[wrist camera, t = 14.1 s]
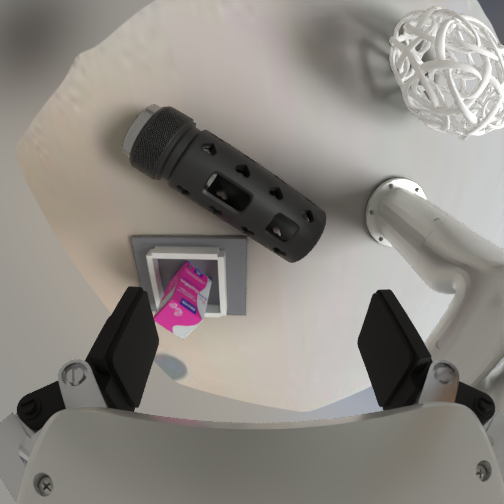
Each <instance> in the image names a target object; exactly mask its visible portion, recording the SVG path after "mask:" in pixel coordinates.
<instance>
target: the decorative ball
mask: <svg viewBox="0 0 504 504" xmlns="http://www.w3.org/2000/svg"><path fill="white" fill-rule="evenodd" d="M417 14H421V15H420V16H419V17H418V18H417V19H414V20H412V21H409V22H407V23H405V24H404V26H403V28H404V33H403V34H401V35H399V36H398V32H399V29H400V27H401V25H402V24H403V23H404V22H405V21H406V20H407V19H408V18H410V17H412V16H414V15H417ZM443 15H448V16H450V17H452V18H451V19H448V20H445V21H444V22H443V23H440V22H441V21H442V19H443ZM468 20H471V21H474V22H476V23H478V24H479V25H481V26H482V27H483V28H484V29H485V30H486V31H487V32H488V33H487V32H486V31H485V30H483V29H481V28H480V29H479V28H478V27H476V26H475V25H474V24H472V23H470V22H469V21H468ZM424 26H425V27H429V28H428V29H427V30H426V31H425V32H423V31H422V29H423V27H424ZM438 27H439V29H438V31H437V28H438ZM453 29H454V31H455V34H456V36H457V38H455V37H453V36H451V32H452V30H453ZM475 29H476V30H477V31H478V32H477V31H476V30H475ZM460 30H461V31H462V32H463V33H465V34H466V35H467V37H468V38H469V39H470V40H471V42H472V43H473V44H472V43H469V42H466V41H464V40H463V38H462V35H461V33H460ZM436 31H437V34H436ZM435 34H436V36H435ZM445 34H446V36H447V37H448V38H449V39H450V40H451V42H449V43H445ZM488 34H489V35H490V36H489V35H488ZM409 39H410V41H409ZM422 40H424V41H423V44H422V46H421V48H420V50H419V51H416V50H415V47H416V46H417V45H418V44H419V43H420V42H421V41H422ZM402 41H405V43H406V45H407V46H406V45H405V44H404V43H400V42H402ZM480 41H481V42H482V43H483V44H484V45H485V46H486V47H487V49H484V48H483V47H482V45H481V44H480ZM389 42H390V44H391V47H390V53H389V61H390V66H391V69H392V71H393V73H394V75H395V78H396V82H397V84H399V86H400V88H401V91H402V97H403V100H404V102H405V105H406V106H407V108H408V110H409V111H410V112H411V113H412V114H413V115H414V116H416V117H417V118H418V119H419V120H421V121H422V122H423V123H424V124H425V125H427V126H428V127H430V128H432V129H434V130H436V131H439V132H442V133H446V134H458V137H459V139H461V140H466V139H467V138H468V137H469V136H470V135H474V136H480V135H483V134H485V133H488V132H490V131H492V130H494V129H501V128H503V127H504V121H503V122H502V123H501V124H500V122H501V121H502V117H503V116H504V62H503V59H502V56H503V57H504V46H503V45H502V44H500V43H498V42H497V40H496V38H495V36H494V35H493V33H492V32H491V31H490V29H489V28H488V27H486V26H485V25H484V24H483V23H482V22H480V21H479V20H478V19H476V18H474V17H472V16H470V15H467V14H463V13H462V14H457V13H456V12H454V11H450V10H447V9H441V8H440V7H438V6H435V7H431V8H428V9H427V10H426V11H420V10H418V11H414V12H411V13H409V14H407V15H406V16H404V17H403V18H402V19H401V20H400V21H399V22H398V23H397V25H396V27H395V29H394V33H393V37H390V38H389ZM432 43H433V44H435V51H436V56H437V58H436V59H435V60H432V61H427V62H425V63H424V62H423V61H422V60H421V58H422V56H423V54H424V53H425V52H426V51H427V50H428V49H429V47H430V46H431V44H432ZM458 47H461V48H458ZM453 51H455V52H459V53H465V55H466V59H467V62H468V64H467V63H461V62H458V60H457V58H456V56H455V54H454V53H453ZM493 51H494V52H495V54H494V53H493ZM446 52H448V54H449V55H447V54H445V53H446ZM474 52H477V53H479V54H480V56H481V58H482V62H483V65H482V66H481V67H480V68H479V67H476V65H475V64H474V62H473V59H472V57H471V55H470V53H474ZM501 55H502V56H501ZM446 57H448V58H449V59H450V60H451V61H450V60H446ZM498 61H499V62H500V65H501V67H500V65H499V63H498ZM491 62H493V64H494V65H495V68H496V71H497V76H496V78H495V77H493V76H492V75H491ZM410 63H411V65H412V68H411V71H410V73H409V71H408V70H409V68H410ZM396 68H397V69H398V72H399V73H398V72H397V69H396ZM437 69H438V70H437ZM452 69H456V71H457V72H456V73H451V71H452ZM461 70H463V71H467V72H470V73H468V74H463V73H462V71H461ZM427 72H428V77H427V76H425V75H424V74H426V73H427ZM434 74H437V75H440V76H444V77H445V79H446V81H447V85H448V87H449V88H446V87H443V86H439V85H436V84H435V83H434ZM452 78H454V79H459V80H460V90H459V89H458V88H457V86H456V84H455V83H454V81H453V79H452ZM475 78H477V80H478V82H477V85H476V87H475V88H474V90H473V91H472V92H471V93H470V94H468V93H466V82H465V80H472V79H475ZM404 80H406V82H405V84H404ZM419 80H420V82H421V84H422V85H418V82H419ZM488 82H489V83H488ZM410 86H411V89H410V88H409V87H410ZM435 90H436V92H437V96H436V93H435ZM483 90H484V91H483ZM423 91H426V93H427V94H428V96H429V98H430V100H431V101H430V100H429V99H428V98H427V96H426V95H425V93H424V92H423ZM482 91H483V93H482ZM442 93H446V94H452V96H453V99H454V104H453V105H452V106H451V107H447V105H446V102H445V99H444V97H443V95H442ZM481 93H482V94H481ZM497 93H498V94H499V96H498V97H496V96H495V95H496V94H497ZM479 94H481V96H480V98H479V99H478V96H479ZM487 94H488V96H487ZM486 96H487V97H486ZM491 98H492V100H493V101H494V102H495V103H494V105H493V107H492V108H491V110H490V111H489V110H488V108H487V106H486V105H487V104H488V102H489V101H490V100H491ZM464 99H465V100H464ZM474 102H476V104H475V106H474V107H473V108H471V109H470V110H469V109H468V108H469V107H470V106H471V105H472V104H473V103H474ZM438 106H439V107H438ZM481 106H482V108H481ZM414 110H415V111H417V112H418V113H417V112H415V111H414ZM478 111H480V112H481V117H477V116H475V115H476V113H477V112H478ZM427 112H428V113H427ZM429 113H430V114H431V115H430V114H429ZM460 113H462V114H463V115H464V118H463V120H462V122H460V121H458V120H457V119H456V118H455V117H454V116H455V115H457V114H460ZM422 115H424V116H426V117H427V118H429V119H430V120H429V119H427V118H425V117H423V116H422ZM440 119H441V120H442V121H441V120H440ZM450 121H451V122H450ZM466 123H468V124H474V125H472V126H470V125H466ZM450 126H451V127H453V128H454V129H456V130H451V131H450V130H448V129H449V127H450ZM486 126H487V127H489V128H486V129H484V127H486Z"/></svg>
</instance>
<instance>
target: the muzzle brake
mask: <svg viewBox="0 0 504 504" xmlns="http://www.w3.org/2000/svg"><path fill="white" fill-rule="evenodd" d="M122 152H123V154H124V155H126V156H127V157H129V160H130V163H131V165H132V166H133V167H134V168H136V169H138V170H139V171H141V172H142V173H144V174H146V175H147V176H149V177H151V178H152V179H158V180H160V179H161V178H164V179H165V180H167V181H168V184H169V186H170V187H171V188H173V189H174V190H176V191H177V192H179V193H181V194H182V195H184V196H185V197H187V198H189V199H190V200H192V201H193V202H195V203H197V204H198V205H200V206H201V207H203V208H205V209H206V210H208V211H209V212H211V213H213V214H214V215H216V216H217V217H219V218H221V219H222V220H224V221H225V222H227V223H228V224H230V225H232V226H233V227H235V228H236V229H238V230H240V231H241V232H243V233H244V234H246V235H247V236H249V237H251V238H252V239H254V240H255V241H257V242H258V243H260V244H262V245H263V246H265V247H266V248H268V249H269V250H271V251H273V252H274V253H276V254H277V255H279V256H280V257H282V258H284V259H285V260H287V261H288V262H291V263H293V262H297V261H299V260H301V259H302V258H304V257H305V256H306V255H307V254H308V253H309V252H310V251H311V250H312V249H313V248H314V246H315V245H316V244H317V242H318V240H319V239H320V237H321V235H322V233H323V231H324V228H325V225H326V214H325V212H324V211H323V210H322V209H320V208H319V207H318V206H316V205H315V204H314V203H312V202H311V201H310V200H308V199H307V198H306V197H304V196H303V195H302V194H300V193H299V192H298V191H296V190H295V189H294V188H292V187H291V186H289V185H288V184H287V183H285V182H284V181H282V180H281V179H279V178H278V177H277V176H275V175H274V174H273V173H271V172H270V171H268V170H267V169H265V168H264V167H262V166H261V165H260V164H258V163H257V162H255V161H254V160H252V159H251V158H249V157H248V156H246V155H245V154H243V153H242V152H240V151H239V150H237V149H236V148H234V147H233V146H231V145H229V144H228V143H226V142H225V141H223V140H222V139H220V138H218V137H217V136H215V135H214V134H212V133H210V132H209V131H207V130H203V131H200V130H198V129H197V128H196V123H194V122H193V119H191V118H190V117H188V116H186V115H185V114H183V113H181V112H179V111H178V110H176V109H174V108H172V107H163V108H161V107H159V106H158V105H155V104H153V105H150V106H148V107H147V108H146V109H144V110H143V111H142V112H141V113H140V114H139V115H138V117H137V118H136V119H135V120H134V122H133V123H132V125H131V126H130V128H129V130H128V131H127V133H126V136H125V138H124V141H123V145H122ZM222 191H224V192H225V195H226V200H224V199H223V198H222V197H221V196H218V195H217V194H216V193H217V192H222ZM308 219H309V221H308ZM273 228H279V229H280V233H281V236H279V235H278V233H274V232H273Z"/></svg>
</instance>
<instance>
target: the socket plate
mask: <svg viewBox="0 0 504 504" xmlns="http://www.w3.org/2000/svg"><path fill="white" fill-rule="evenodd" d="M131 241H132V247H133V252H134V257H135V262H136V267H137V272H138V277H139V281H140V286H141V287H142V288H143V290H144V291H147V293H148V298H149V302H150V306H151V310H152V311H157V309H158V306H159V304H160V302H161V299H162V297H163V295H164V292H165V290H166V288H167V286H168V283H169V281H170V279H171V278H172V277H173V276H174V275H175V274H176V272H177V271H178V270H179V269H180V268H181V267H182V266H183V264H184V263H185V262H186V261H188V262H190V263H191V264H192V265H193V266H194V267H196V268H197V269H198V270H200V271H201V272H202V273H204V274H205V275H207V276H208V277H210V278H211V279H212V283H211V287H210V292H209V297H208V301H207V306H206V310H205V315H204V317H221V315H223V316H226V315H246V256H247V236H132V237H131Z"/></svg>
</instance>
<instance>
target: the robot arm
mask: <svg viewBox="0 0 504 504" xmlns="http://www.w3.org/2000/svg"><path fill="white" fill-rule="evenodd" d="M389 184H390V185H389ZM365 219H366V225H367V228H368V231H369V232H370V234H371V236H372V237H373V238H374V239H375V240H376V241H377V242H378V243H380V244H382V245H384V246H388V247H394V248H395V249H396V250H397V251H398V252H399V253H400V254H401V256H402V257H403V258H404V259H405V260H406V261H407V262H408V263H409V265H410V266H411V267H412V268H413V269H414V270H415V272H416V273H417V274H418V275H419V276H420V278H421V279H422V280H423V281H424V282H425V283H426V284H427V285H428V286H429V287H430V288H431V289H432V290H434V291H436V292H438V293H442V294H455V296H454V298H453V300H452V302H451V303H450V305H449V307H448V309H447V311H446V312H445V314H444V315H443V317H442V318H441V320H440V321H439V323H438V324H437V326H436V327H435V329H434V330H433V331H432V333H431V334H430V336H429V337H428V338H427V340H426V341H425V343H424V342H423V340H422V339H421V337H420V335H419V333H418V332H417V330H416V328H415V327H414V325H413V324H412V322H411V320H410V319H409V317H408V315H407V314H406V312H405V311H404V309H403V307H402V306H401V304H400V303H399V301H398V300H397V298H396V297H395V295H394V294H393V292H392V291H391V290H389V289H388V290H377V292H376V293H374V294H373V295H372V298H371V302H370V305H369V308H368V311H367V314H366V317H365V320H364V323H363V326H362V329H361V332H360V335H359V337H358V348H359V350H360V353H361V356H362V359H363V361H364V364H365V367H366V370H367V372H368V375H369V378H370V381H371V384H372V387H373V389H374V392H375V395H376V399H377V402H378V404H379V406H380V407H383V410H384V411H380V412H374V413H368V414H362V415H356V416H349V417H342V418H334V419H324V420H314V421H302V422H301V421H300V422H281V423H232V422H212V421H198V420H188V419H179V418H171V417H163V416H156V415H149V414H142V413H136V412H134V409H135V407H137V408H138V407H139V405H140V402H141V398H142V395H143V392H144V388H145V385H146V382H147V379H148V375H149V373H150V369H151V366H152V363H153V360H154V357H155V354H156V351H157V348H158V345H159V337H158V333H157V330H156V326H155V322H154V318H153V314H152V310H151V306H150V302H149V298H148V293H147V291H144V290H143V288H142V287H131V286H130V287H128V288H127V290H126V291H125V293H124V294H123V296H122V298H121V299H120V301H119V303H118V305H117V306H116V308H115V310H114V311H113V313H112V315H111V316H110V317H109V318H108V319H107V321H106V323H105V325H104V326H103V328H102V330H101V332H100V334H99V335H98V338H97V339H96V341H95V343H94V345H93V347H92V348H91V350H90V352H89V354H88V356H87V358H86V360H85V361H83V360H71V361H69V362H67V363H66V364H64V365H63V366H62V368H61V369H60V370H59V374H58V381H56V382H54V383H52V384H50V385H47V386H45V387H43V388H41V389H39V390H36V391H34V392H32V393H29V394H27V395H26V396H24V397H23V398H22V399H21V400H20V401H19V403H18V406H17V413H16V414H14V413H13V412H12V413H11V414H10V415H9V416H8V417H6V418H5V419H4V420H3V421H2V422H0V477H1V479H2V481H3V483H4V484H5V486H6V487H7V489H8V491H9V492H10V494H11V495H12V497H13V498H14V500H15V501H16V504H504V361H503V362H502V363H501V365H500V366H499V367H498V368H497V369H494V368H495V367H496V365H497V364H498V363H499V362H500V360H501V359H502V358H503V357H504V249H503V248H501V247H499V246H497V245H495V244H493V243H492V242H490V241H488V240H487V239H485V238H483V237H482V236H480V235H479V234H477V233H476V232H474V231H473V230H471V229H470V228H469V227H467V226H466V225H464V224H463V223H461V222H460V221H458V220H457V219H455V218H454V217H452V216H451V215H450V214H448V213H447V212H445V211H443V210H442V209H440V208H439V207H437V206H436V205H434V204H433V203H431V202H429V201H428V200H426V197H425V194H424V192H423V190H422V189H421V188H420V186H418V185H417V184H416V183H415V182H413V181H411V180H409V179H406V178H393V179H390V180H387V181H385V182H384V183H382V184H381V185H380V186H379V187H377V189H376V190H375V191H374V192H373V194H372V195H371V197H370V199H369V201H368V204H367V208H366V217H365Z"/></svg>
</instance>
